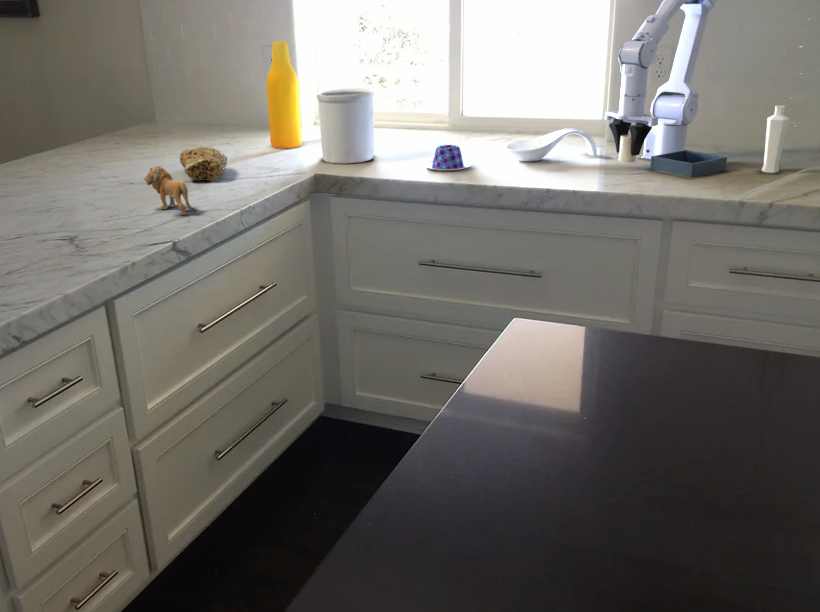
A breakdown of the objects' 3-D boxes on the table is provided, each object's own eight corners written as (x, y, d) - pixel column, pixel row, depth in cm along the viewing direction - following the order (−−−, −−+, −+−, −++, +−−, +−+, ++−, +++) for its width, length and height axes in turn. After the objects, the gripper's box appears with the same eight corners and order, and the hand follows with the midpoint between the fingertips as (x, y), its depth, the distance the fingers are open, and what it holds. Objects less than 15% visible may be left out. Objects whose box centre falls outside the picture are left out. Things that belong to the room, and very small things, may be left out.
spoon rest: (512, 165, 218) (513, 136, 216) (498, 156, 229) (499, 129, 226) (602, 159, 221) (604, 131, 218) (584, 151, 232) (586, 124, 229)
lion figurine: (144, 208, 190) (139, 167, 187) (163, 203, 194) (158, 162, 190) (188, 217, 181) (183, 174, 178) (207, 212, 185) (202, 169, 182)
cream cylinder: (615, 161, 208) (617, 135, 206) (624, 158, 210) (626, 133, 208) (630, 163, 205) (632, 137, 203) (639, 160, 208) (641, 135, 205)
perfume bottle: (783, 174, 199) (794, 107, 193) (762, 174, 200) (772, 107, 194) (778, 170, 203) (788, 104, 197) (758, 170, 204) (768, 104, 198)
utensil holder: (311, 163, 230) (307, 94, 223) (333, 152, 243) (330, 87, 236) (362, 165, 225) (360, 95, 218) (382, 154, 238) (381, 88, 231)
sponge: (228, 186, 213) (233, 154, 229) (218, 157, 209) (225, 126, 225) (177, 197, 214) (186, 165, 230) (166, 168, 210) (176, 137, 226)
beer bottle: (274, 143, 260) (267, 40, 248) (304, 142, 258) (299, 40, 247) (267, 148, 251) (260, 43, 240) (298, 148, 250) (292, 42, 239)
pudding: (439, 161, 227) (439, 140, 224) (480, 165, 220) (480, 144, 218) (415, 169, 218) (414, 148, 216) (457, 174, 211) (457, 152, 209)
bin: (649, 170, 208) (651, 156, 207) (683, 163, 213) (685, 149, 212) (690, 178, 198) (692, 163, 197) (725, 171, 204) (727, 157, 203)
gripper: (597, 93, 206) (593, 151, 211) (645, 99, 194) (639, 160, 200) (618, 91, 209) (614, 147, 214) (667, 96, 198) (660, 156, 203)
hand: (627, 153), depth 207 cm, fingers closed on cream cylinder, 4 cm apart
